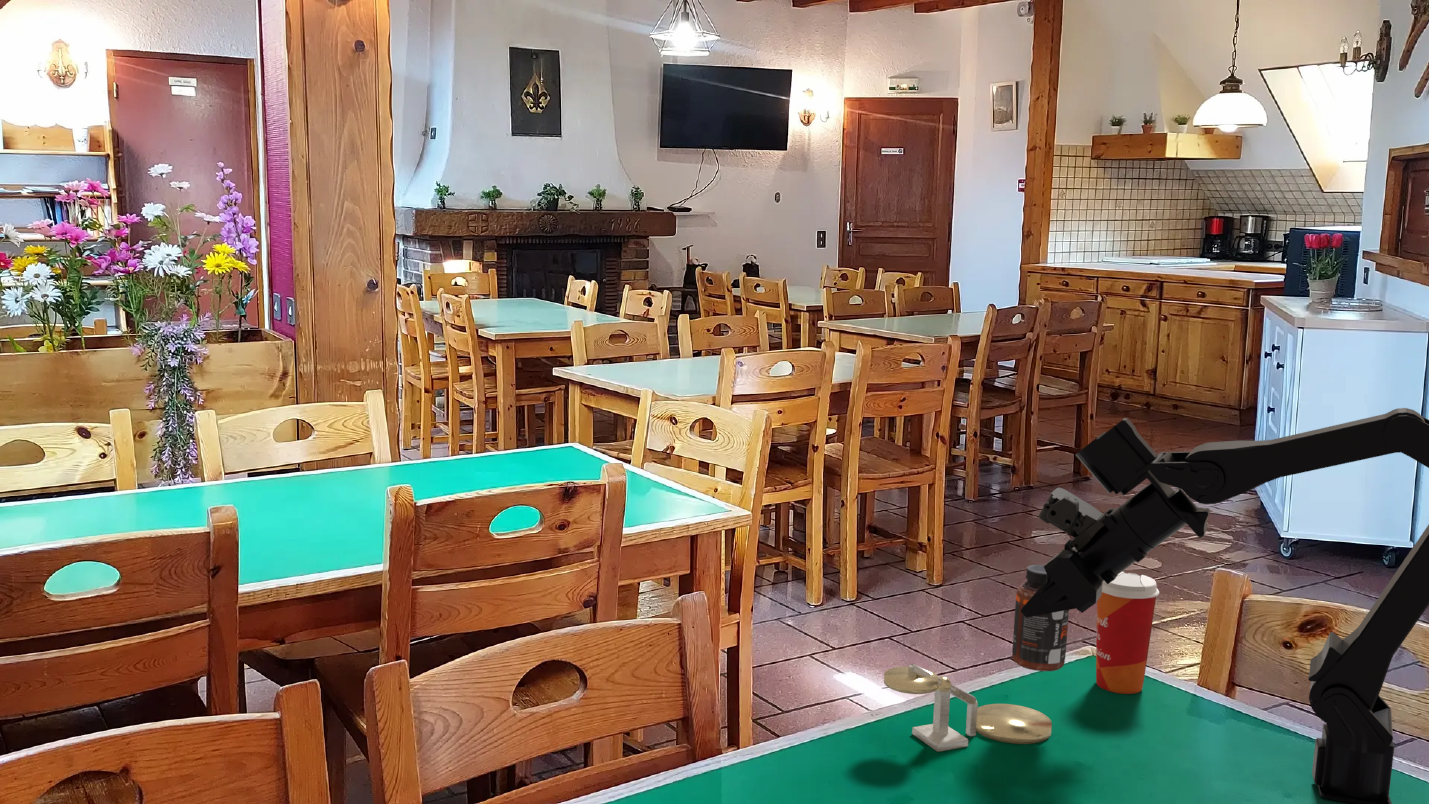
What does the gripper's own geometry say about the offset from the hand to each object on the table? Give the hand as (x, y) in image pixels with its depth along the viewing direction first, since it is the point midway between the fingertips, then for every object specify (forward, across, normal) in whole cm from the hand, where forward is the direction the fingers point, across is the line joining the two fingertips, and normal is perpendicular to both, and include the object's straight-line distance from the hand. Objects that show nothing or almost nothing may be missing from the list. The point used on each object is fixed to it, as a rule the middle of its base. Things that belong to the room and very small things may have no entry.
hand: (1029, 606), depth 140 cm
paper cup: (+4, -18, +16) cm, 24 cm away
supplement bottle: (+4, 0, +6) cm, 7 cm away
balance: (+13, +7, +7) cm, 16 cm away
